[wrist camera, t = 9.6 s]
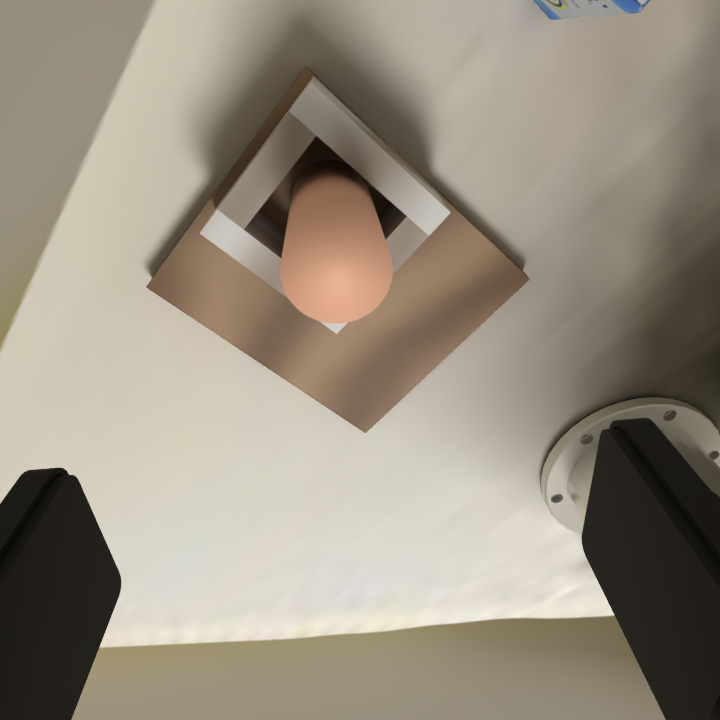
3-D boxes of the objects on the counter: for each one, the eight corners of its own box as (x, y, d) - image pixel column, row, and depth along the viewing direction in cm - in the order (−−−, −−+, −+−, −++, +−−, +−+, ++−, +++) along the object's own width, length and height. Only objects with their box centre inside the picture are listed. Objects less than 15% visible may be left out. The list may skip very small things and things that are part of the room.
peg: (385, 194, 28) (416, 263, 20) (338, 253, 30) (346, 342, 21) (323, 142, 27) (326, 192, 18) (276, 207, 28) (257, 282, 19)
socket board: (523, 271, 32) (555, 309, 27) (364, 422, 37) (369, 475, 32) (305, 66, 26) (300, 73, 22) (152, 278, 31) (122, 319, 27)
